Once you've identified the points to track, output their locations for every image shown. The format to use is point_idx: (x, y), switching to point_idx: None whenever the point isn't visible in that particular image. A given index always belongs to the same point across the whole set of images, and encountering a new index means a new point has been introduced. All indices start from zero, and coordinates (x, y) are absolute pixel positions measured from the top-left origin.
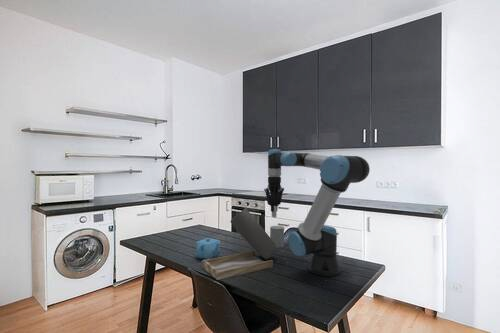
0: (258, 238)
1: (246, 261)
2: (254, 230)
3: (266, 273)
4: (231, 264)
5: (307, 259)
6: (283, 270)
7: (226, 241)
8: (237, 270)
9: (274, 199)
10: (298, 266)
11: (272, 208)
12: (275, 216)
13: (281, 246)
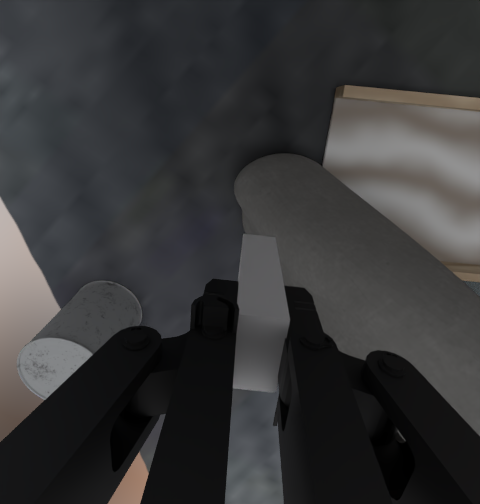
0: (382, 221)
1: (389, 215)
2: (427, 263)
3: (427, 35)
4: (467, 224)
5: (103, 58)
6: (330, 10)
7: (265, 449)
8: None
9: (308, 461)
10: (222, 3)
11: (312, 316)
12: (258, 240)
13: (103, 282)
